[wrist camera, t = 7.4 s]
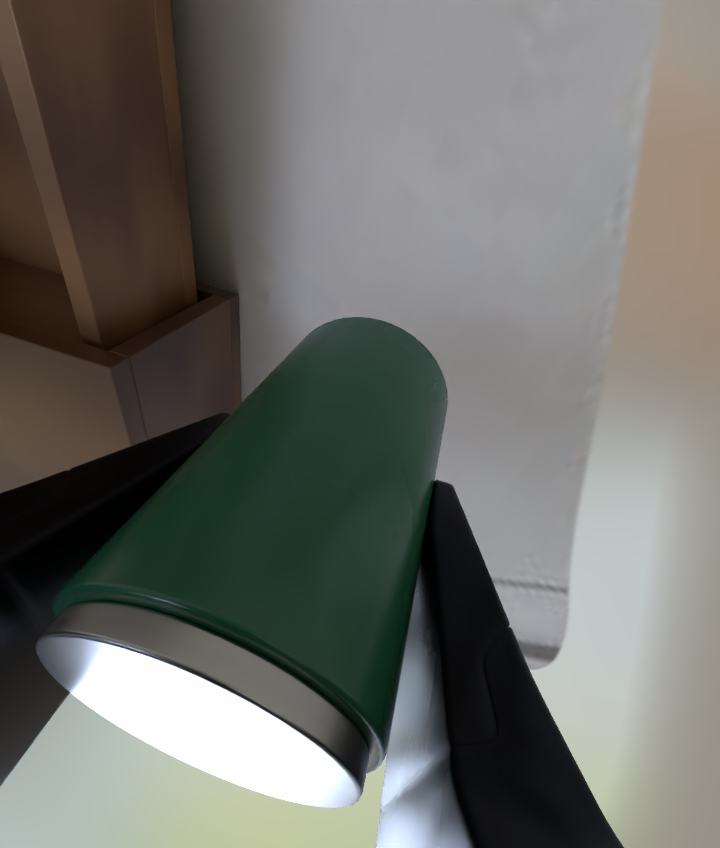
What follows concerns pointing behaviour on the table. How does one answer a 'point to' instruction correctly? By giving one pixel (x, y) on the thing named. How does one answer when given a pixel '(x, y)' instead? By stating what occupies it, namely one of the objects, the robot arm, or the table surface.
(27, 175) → the drawer
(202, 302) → the cabinet
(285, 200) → the table surface
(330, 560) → the can
